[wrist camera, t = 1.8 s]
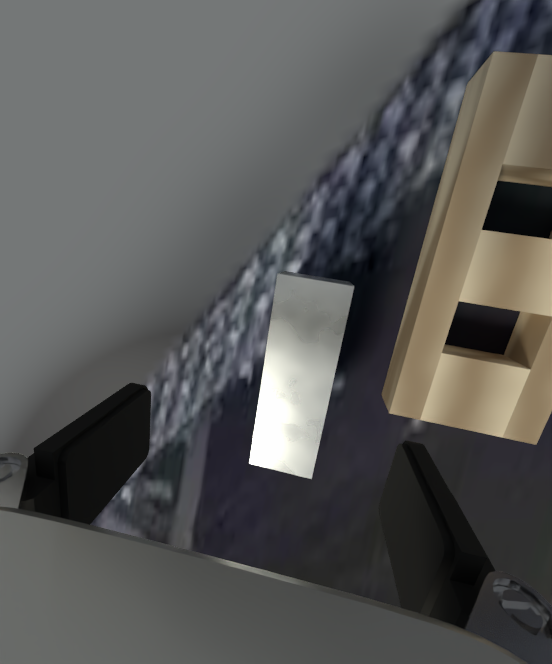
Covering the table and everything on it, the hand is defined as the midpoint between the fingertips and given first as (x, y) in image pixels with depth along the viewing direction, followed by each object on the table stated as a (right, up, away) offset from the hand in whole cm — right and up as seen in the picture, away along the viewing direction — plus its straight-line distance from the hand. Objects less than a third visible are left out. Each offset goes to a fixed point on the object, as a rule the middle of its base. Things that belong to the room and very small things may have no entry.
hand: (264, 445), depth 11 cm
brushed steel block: (+3, +3, +14) cm, 14 cm away
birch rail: (+16, +8, +10) cm, 20 cm away
